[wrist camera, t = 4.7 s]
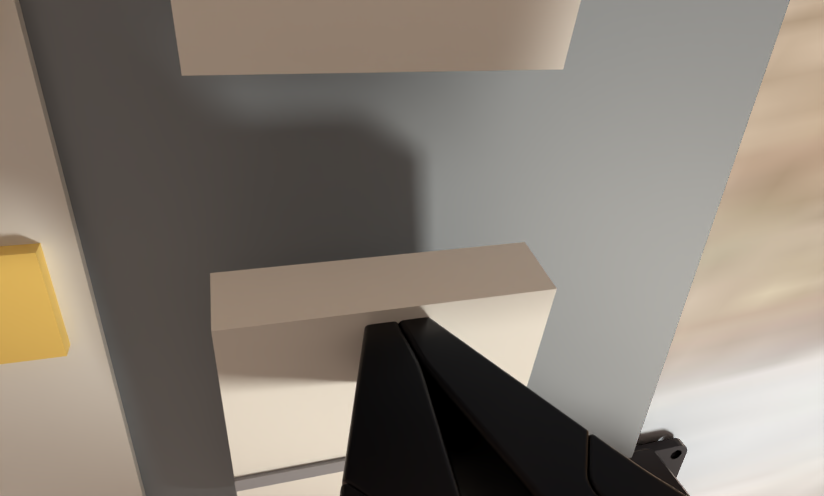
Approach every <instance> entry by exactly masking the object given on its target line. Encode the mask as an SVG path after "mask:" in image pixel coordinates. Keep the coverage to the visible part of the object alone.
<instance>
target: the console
mask: <svg viewBox="0 0 824 496" xmlns="http://www.w3.org/2000/svg"><path fill="white" fill-rule="evenodd" d="M789 1H790V0H581V2H580V6H579V10H578V14H577V18H576V22H575V26H574V29H573V33H572V37H571V41H570V45H569V49H568V53H567V56H566V60H565V64H564V68H563V69H561V70H500V71H439V72H377V73H316V74H255V75H194V76H182V74H181V67H180V60H179V54H178V47H177V40H176V33H175V27H174V20H173V13H172V7H171V0H0V496H237V492H236V488H235V482H234V473H233V466H232V460H231V454H230V448H229V441H228V435H227V429H226V422H225V416H224V410H223V403H222V397H221V391H220V384H219V378H218V372H217V365H216V359H215V353H214V346H213V340H212V334H211V295H210V273H216V272H226V271H236V270H247V269H257V268H267V267H277V266H287V265H297V264H307V263H318V262H328V261H338V260H348V259H358V258H368V257H378V256H388V255H399V254H409V253H419V252H429V251H439V250H449V249H459V248H470V247H480V246H490V245H500V244H510V243H520V242H525V243H526V245H527V246H528V248H529V249H530V250H531V252H532V253H533V255H534V256H535V258H536V259H537V261H538V262H539V264H540V265H541V266H542V268H543V269H544V271H545V272H546V274H547V275H548V277H549V278H550V280H551V281H552V283H553V284H554V285H555V287H556V288H557V290H556V293H555V297H554V300H553V303H552V306H551V310H550V313H549V316H548V319H547V323H546V326H545V329H544V332H543V336H542V339H541V342H540V345H539V349H538V352H537V355H536V358H535V362H534V365H533V368H532V372H531V375H530V378H529V381H528V385H527V387H528V388H529V389H531V390H532V391H534V392H535V393H536V394H538V395H539V396H541V397H542V398H543V399H545V400H546V401H548V402H549V403H550V404H552V405H553V406H555V407H556V408H557V409H559V410H560V411H562V412H563V413H564V414H566V415H567V416H569V417H570V418H571V419H573V420H574V421H576V422H577V423H579V424H580V425H581V426H583V427H584V428H586V429H587V430H588V431H589V435H590V434H594V435H596V436H597V437H599V438H600V439H601V440H603V441H604V442H606V443H607V444H608V445H610V446H611V447H613V448H614V449H615V450H617V451H618V452H620V453H621V454H623V455H624V456H626V457H627V458H632V455H633V453H634V450H635V447H636V444H637V441H638V438H639V435H640V432H641V429H642V427H643V424H644V421H645V418H646V415H647V412H648V409H649V406H650V403H651V401H652V398H653V395H654V392H655V389H656V386H657V383H658V380H659V377H660V374H661V372H662V369H663V366H664V363H665V360H666V357H667V354H668V351H669V348H670V346H671V343H672V340H673V337H674V334H675V331H676V328H677V325H678V322H679V320H680V317H681V314H682V311H683V308H684V305H685V302H686V299H687V296H688V293H689V291H690V288H691V285H692V282H693V279H694V276H695V273H696V270H697V267H698V265H699V262H700V259H701V256H702V253H703V250H704V247H705V244H706V241H707V239H708V236H709V233H710V230H711V227H712V224H713V221H714V218H715V215H716V213H717V210H718V207H719V204H720V201H721V198H722V195H723V192H724V189H725V186H726V184H727V181H728V178H729V175H730V172H731V169H732V166H733V163H734V160H735V158H736V155H737V152H738V149H739V146H740V143H741V140H742V137H743V134H744V132H745V129H746V126H747V123H748V120H749V117H750V114H751V111H752V108H753V106H754V103H755V100H756V97H757V94H758V91H759V88H760V85H761V82H762V79H763V77H764V74H765V71H766V68H767V65H768V62H769V59H770V56H771V53H772V51H773V48H774V45H775V42H776V39H777V36H778V33H779V30H780V27H781V25H782V22H783V19H784V16H785V13H786V10H787V7H788V4H789Z"/></svg>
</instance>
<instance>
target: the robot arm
mask: <svg viewBox="0 0 824 496" xmlns="http://www.w3.org/2000/svg"><path fill="white" fill-rule="evenodd" d="M686 453H687V448H686V446H685V445H684V444H683V443H682V442H681V440H680V439H678V438H672V439H667V440H663V441H658V442H653V443H648V444H643V445H639V446H636V447H635V450H634V453H633V455H632V458H627V457H626V456H624V455H623V454H621V453H620V452H618V451H617V450H615V449H614V448H613V447H611V446H610V445H608V444H607V443H606V442H604V441H603V440H601V439H600V438H599V437H597V436H596V435H594V434H590V435H589V431H588V430H587V429H586V428H584V427H583V426H581V425H580V424H579V423H577V422H576V421H574V420H573V419H571V418H570V417H569V416H567V415H566V414H564V413H563V412H562V411H560V410H559V409H557V408H556V407H555V406H553V405H552V404H550V403H549V402H548V401H546V400H545V399H543V398H542V397H541V396H539V395H538V394H536V393H535V392H534V391H532V390H531V389H529V388H528V387H527V386H525V385H524V384H522V383H521V382H519V381H518V380H517V379H515V378H514V377H512V376H511V375H510V374H508V373H507V372H505V371H504V370H503V369H501V368H500V367H498V366H497V365H496V364H494V363H493V362H491V361H490V360H489V359H487V358H486V357H484V356H483V355H482V354H480V353H479V352H477V351H476V350H474V349H473V348H472V347H470V346H469V345H467V344H466V343H465V342H463V341H462V340H460V339H459V338H458V337H456V336H455V335H453V334H452V333H451V332H449V331H448V330H446V329H445V328H444V327H442V326H441V325H439V324H438V323H437V322H435V321H434V320H432V319H431V318H429V317H424V318H416V319H408V320H402V321H400V322H399V324H398V323H397V322H395V321H393V322H385V323H378V324H370V325H367V326H366V327H365V329H364V335H363V342H362V349H361V356H360V362H359V369H358V376H357V383H356V390H355V396H354V403H353V410H352V417H351V424H350V430H349V437H348V444H347V451H346V458H345V464H344V471H343V478H342V486H341V489H340V496H690V495H689V494H688V493H687V491H686V490H685V489H684V487H683V486H682V485H681V484H680V482H679V481H678V480H677V478H676V477H677V475H678V472H679V470H680V467H681V465H682V462H683V460H684V458H685V455H686Z"/></svg>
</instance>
